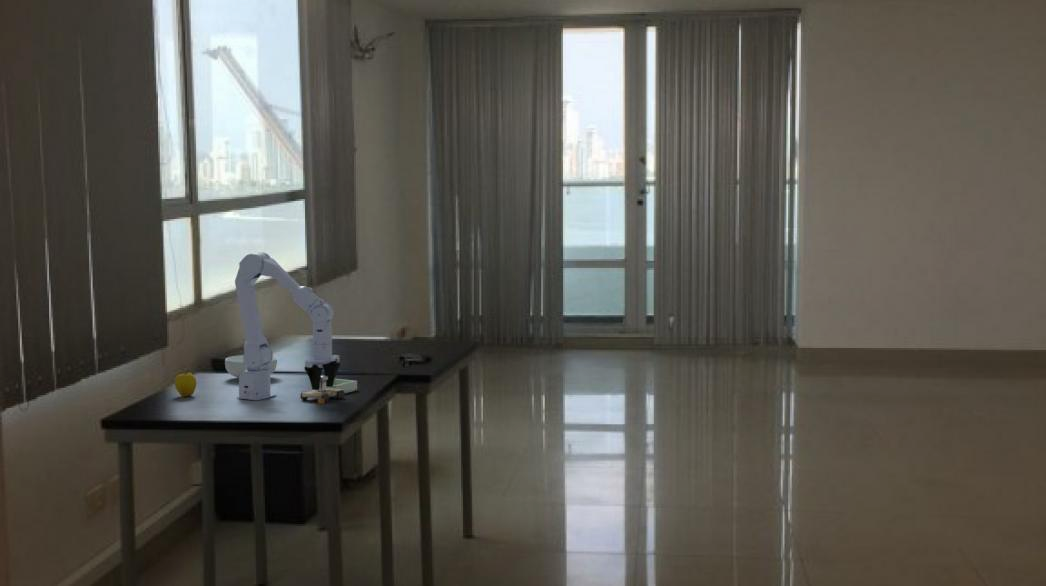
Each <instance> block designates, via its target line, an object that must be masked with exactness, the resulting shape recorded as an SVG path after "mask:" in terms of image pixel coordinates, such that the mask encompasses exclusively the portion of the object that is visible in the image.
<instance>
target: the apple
mask: <svg viewBox="0 0 1046 586" xmlns="http://www.w3.org/2000/svg"><path fill="white" fill-rule="evenodd" d="M196 386H197V379H196V377H195V375H194V373H191V372H189V370H187V371H186V372H184V373H180V374H178V375H176V376H175V378H174V388H175V389H176V391H177V392H178V393H179V395H180V396H181V397H183V398H187V397H190V396H193V395H194V393H195V391H196Z"/></svg>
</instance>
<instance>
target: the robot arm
mask: <svg viewBox="0 0 1046 586" xmlns="http://www.w3.org/2000/svg"><path fill="white" fill-rule="evenodd" d="M238 266H239V268H238V270H237V274H236V277H235V279H234V285H235V290H236V291H235V292H236V296H237V301H238V304H239V305H238V306H239V310H240V316H241V320H242V326H243V330H244V335H245V336H244V337H245V341H244V343H243V349H244V350H243V352H244V353H243V355H244V356H243V361H244V363H245V365H246V370H245V371H244V372H242V373H241V374H240V376H239V378H238V396H236V399H241V400H252V401H260V400H264V399H269V398H274V397H277V396H278V395H277V394H276V393H271V375H270V365H269V363H270V362H271V360H272V358H273V357H274V355H273V350H272V348H271V347H270V346H269V342H268V339H267V338H266V337H265V336H264V333H263V332H264V331H263V328H262V322H261V317H260V311H259V306H258V302H257V297H256V296H257V295H256V292H255V287H254V285H255V284H256V282H258V280H259V278H260V277H261V276H264V277H270V278H273V279H274V280H275V281H277V283H279V284H280V285H281V286H283V288H285V289H286V290H287V291H288V292H290V293H291V294H292V300H293V301H294V302H295V303H296V304H297V305H298V306H299V307H300V308H301V309H302V310H303V311H304V312H306V314H308V315H309V318H310V320H311V321H312V358H309V359H307V360H305V361H304V371H305V372H306V374H307V376H308V379H309V382H310V385H311V389H312V390H319V388H320V378H321V376H322V373H324V376H328V380H326V386H328V387H333V384H334V379H336V376H337V373H338V371H339V369H340V367H341V362H340V354H339V355H338V354H333V328H332V327H333V326H332V325H333V324H332V322H333V321H332V319H333V317H334V315H335V311H334V308H333V306H332V305H331V304H330V303H329V302H325V300H324V299H323V298H320V297H318V295H317V294H315V293H314V292H313V291H314V289H313V288H312V287H307V285H303V286H301V285H300V284H299V283H298V282H297V281H296V280H295V279H294V278H293V277H292V276H291V275H290V274H289V273H288V272H287V271H286V270H285V269H284V268H283V267H282V266H281V265H280V264H279V263H278V262H277V261H276V260H275V259H274V258H272V257H270V255H269V254H268V253H266V252H257V253H248V254H246V255H244V256H243V258H242V259H241V261H239V263H238ZM339 362H340V363H339ZM319 366H322V367H319ZM312 390H311V391H312Z"/></svg>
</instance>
